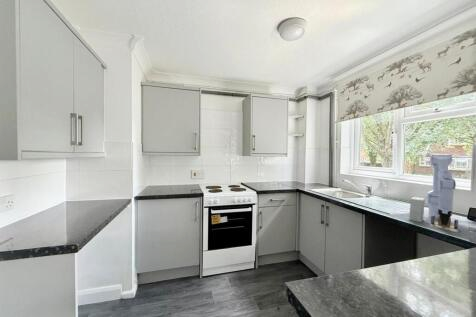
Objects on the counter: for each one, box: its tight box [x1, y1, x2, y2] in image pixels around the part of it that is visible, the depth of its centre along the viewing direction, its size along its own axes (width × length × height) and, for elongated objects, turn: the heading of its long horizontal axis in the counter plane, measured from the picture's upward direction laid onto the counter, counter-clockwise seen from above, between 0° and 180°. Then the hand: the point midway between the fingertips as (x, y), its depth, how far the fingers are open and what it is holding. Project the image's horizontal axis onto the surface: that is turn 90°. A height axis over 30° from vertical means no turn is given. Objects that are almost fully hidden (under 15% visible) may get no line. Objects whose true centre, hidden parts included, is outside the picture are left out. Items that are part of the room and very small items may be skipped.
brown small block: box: [437, 216, 452, 227], centre depth 116 cm, size 5×5×4 cm
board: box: [430, 220, 459, 233], centre depth 120 cm, size 15×11×1 cm
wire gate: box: [430, 216, 459, 230], centre depth 120 cm, size 3×11×5 cm, turn 44°
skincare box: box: [408, 196, 426, 223], centre depth 131 cm, size 8×6×15 cm
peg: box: [438, 226, 449, 231], centre depth 116 cm, size 4×4×3 cm
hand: (444, 223), depth 116 cm, fingers closed on brown small block, 5 cm apart
